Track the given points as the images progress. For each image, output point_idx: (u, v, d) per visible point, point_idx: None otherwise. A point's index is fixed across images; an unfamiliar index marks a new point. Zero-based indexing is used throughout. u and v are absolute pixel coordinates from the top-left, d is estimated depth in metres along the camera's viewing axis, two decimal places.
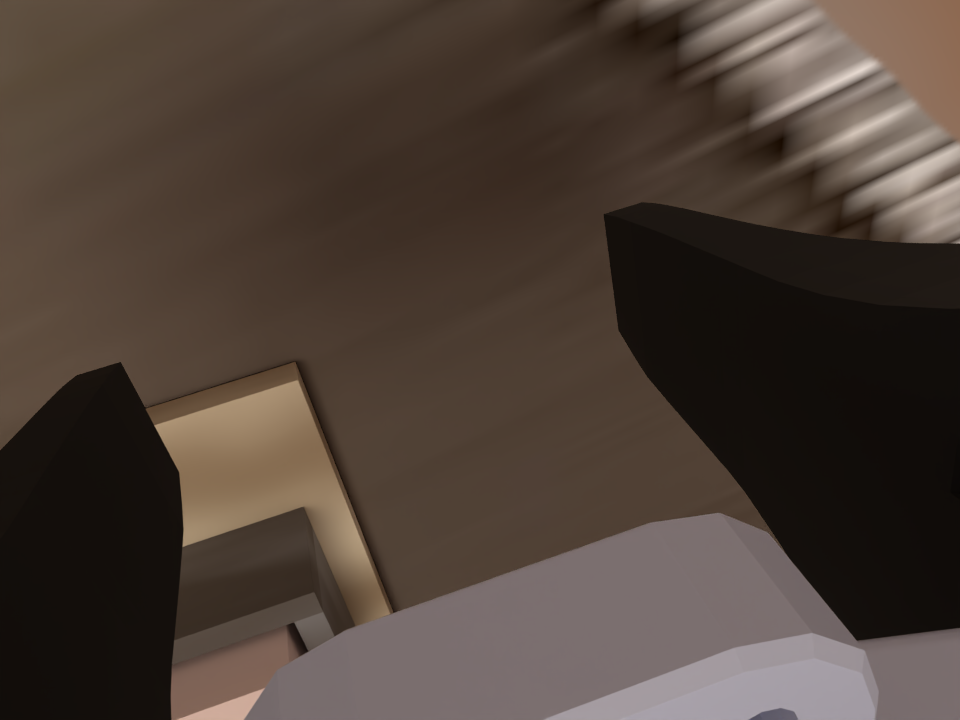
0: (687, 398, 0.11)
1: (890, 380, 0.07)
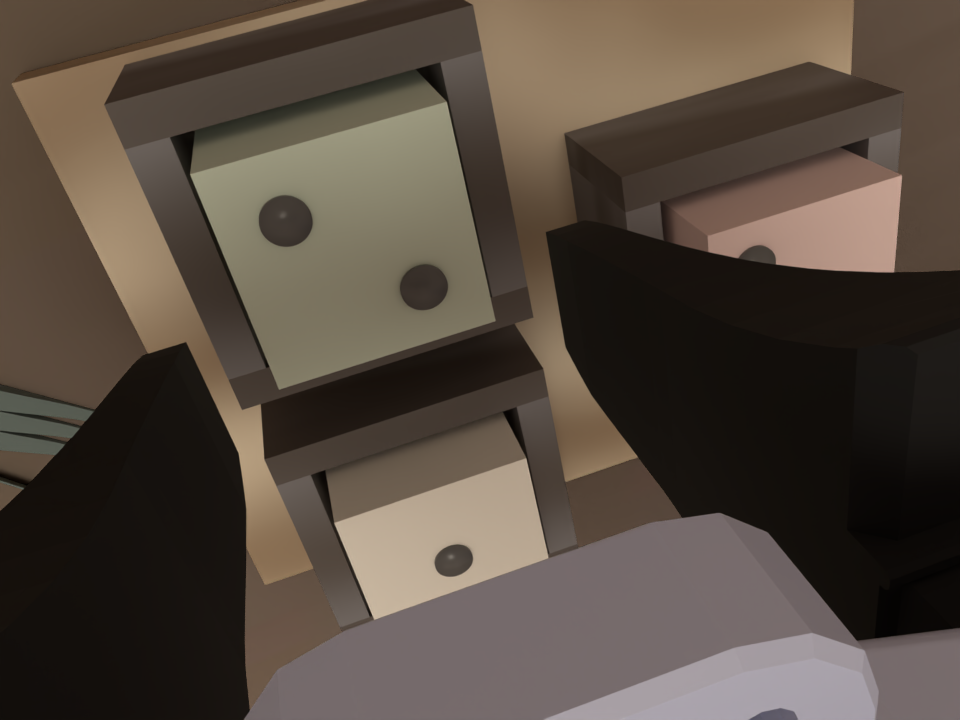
0: (625, 419, 0.11)
1: (790, 414, 0.07)
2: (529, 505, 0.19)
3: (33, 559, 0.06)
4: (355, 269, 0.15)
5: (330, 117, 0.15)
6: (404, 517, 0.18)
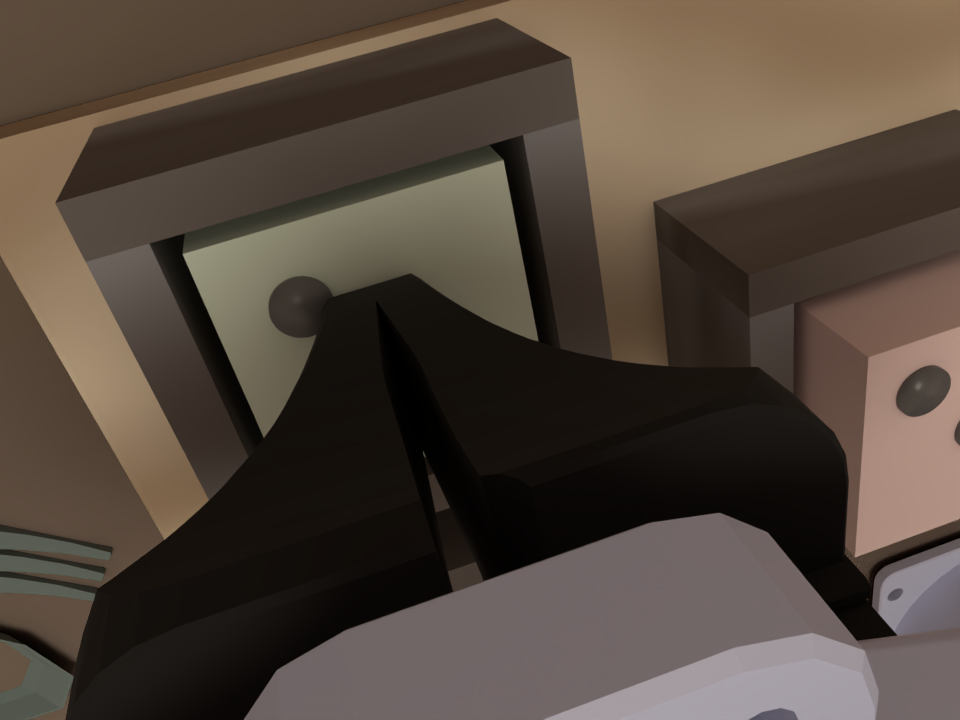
0: (442, 481, 0.11)
1: (483, 520, 0.06)
2: None
3: (358, 452, 0.07)
4: None
5: None
6: None
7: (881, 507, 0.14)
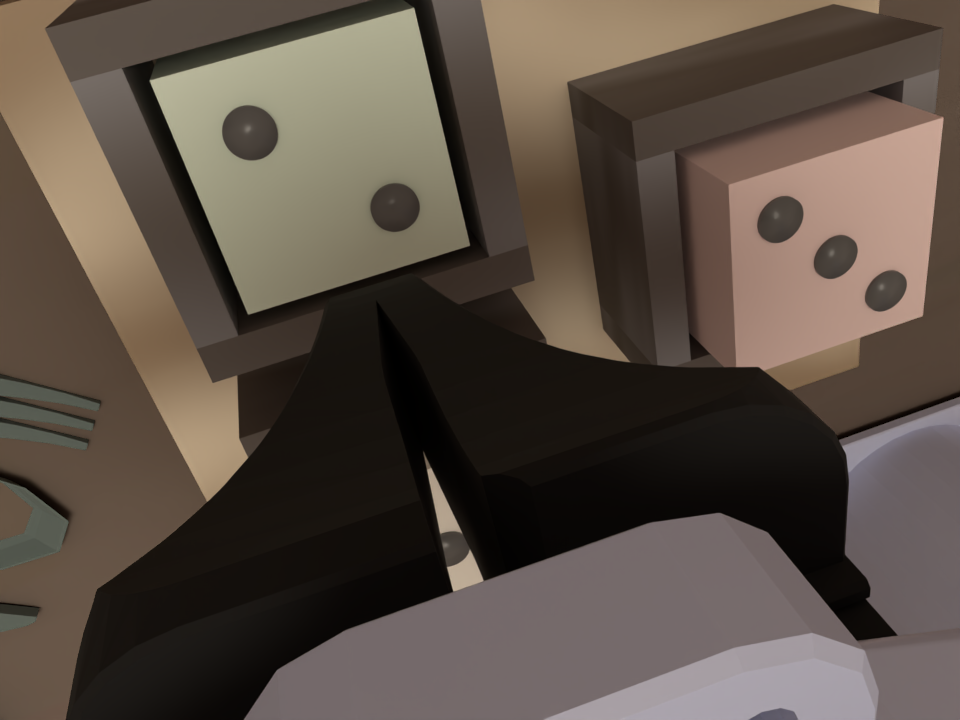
0: (441, 481, 0.11)
1: (483, 520, 0.06)
2: None
3: (359, 452, 0.07)
4: (322, 187, 0.15)
5: (296, 28, 0.14)
6: None
7: (755, 331, 0.17)
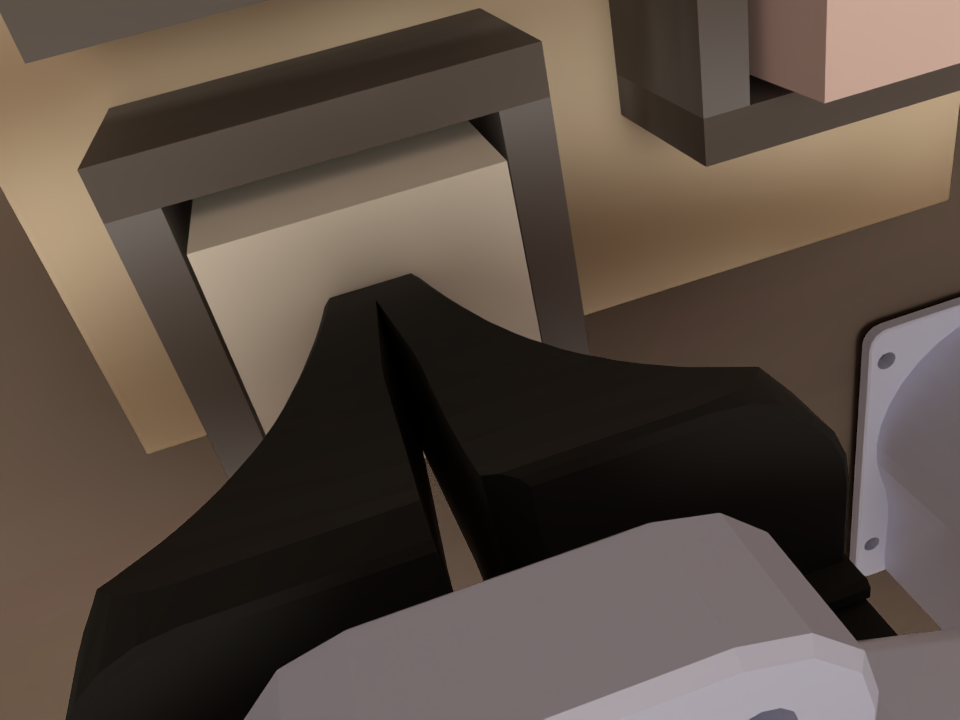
0: (441, 481, 0.11)
1: (483, 520, 0.06)
2: (514, 253, 0.12)
3: (358, 452, 0.07)
4: None
5: None
6: (307, 256, 0.11)
7: (857, 18, 0.11)
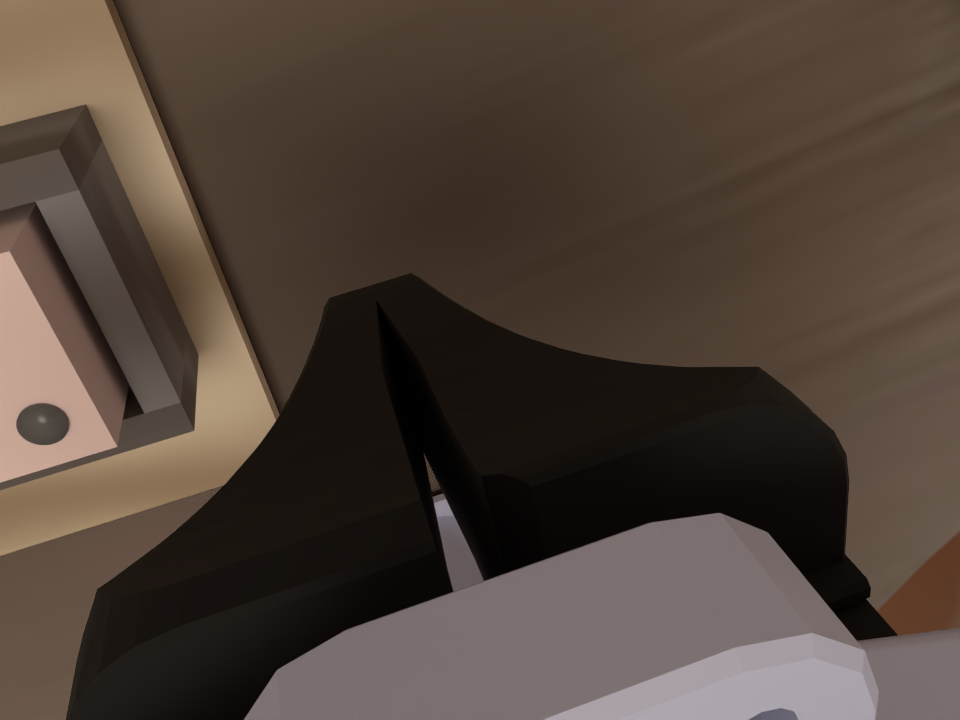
0: (441, 481, 0.11)
1: (483, 520, 0.06)
2: None
3: (359, 452, 0.07)
4: None
5: None
6: None
7: None
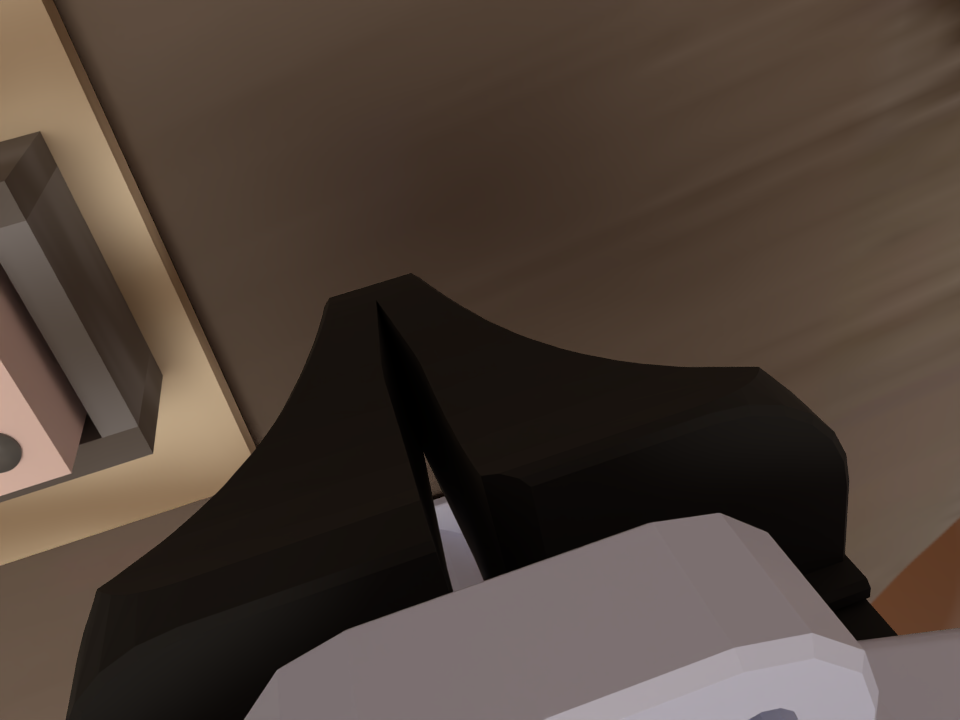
0: (441, 481, 0.11)
1: (483, 520, 0.06)
2: None
3: (359, 452, 0.07)
4: None
5: None
6: None
7: None
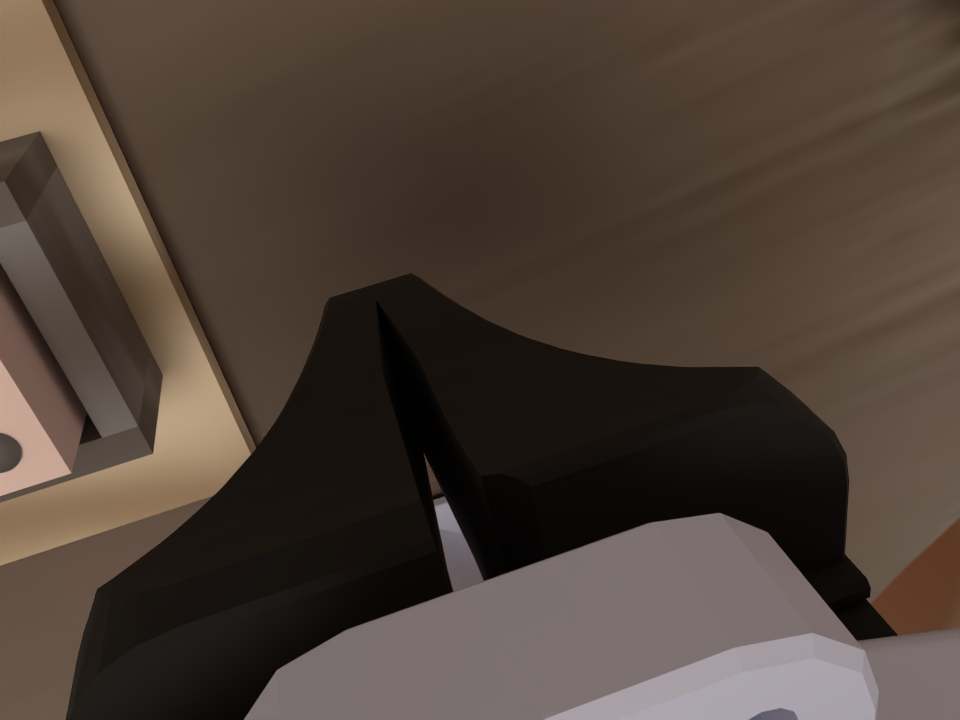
0: (441, 481, 0.11)
1: (483, 520, 0.06)
2: None
3: (359, 452, 0.07)
4: None
5: None
6: None
7: None
